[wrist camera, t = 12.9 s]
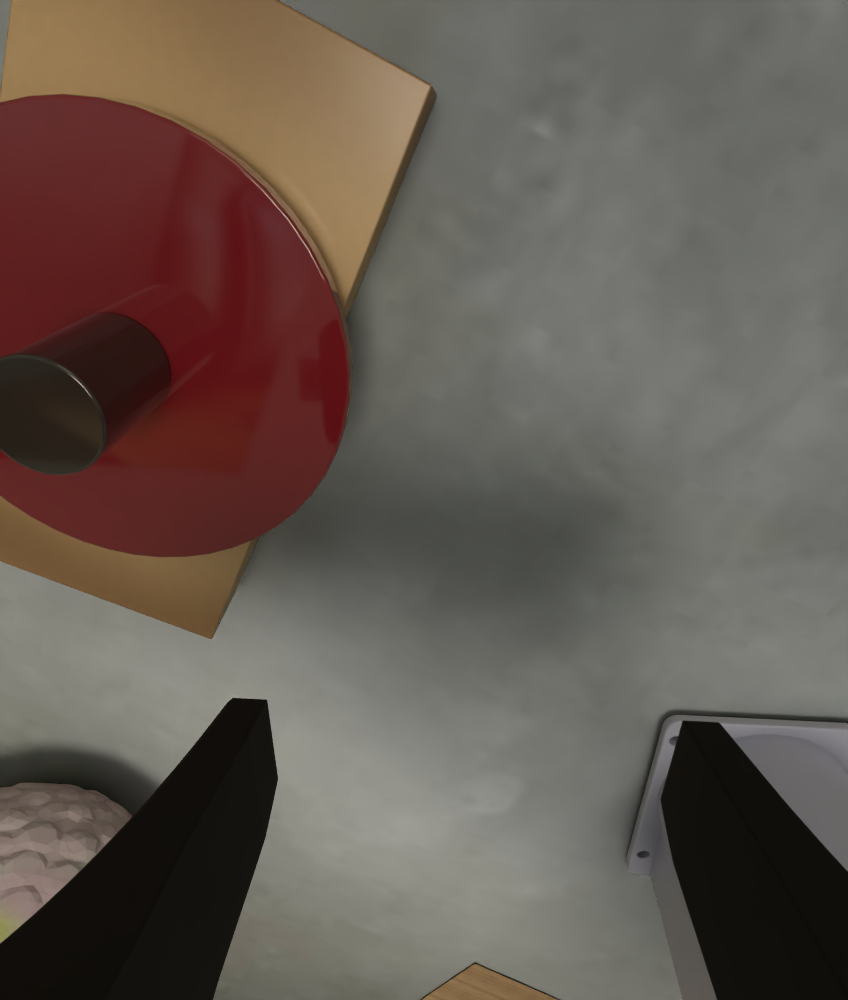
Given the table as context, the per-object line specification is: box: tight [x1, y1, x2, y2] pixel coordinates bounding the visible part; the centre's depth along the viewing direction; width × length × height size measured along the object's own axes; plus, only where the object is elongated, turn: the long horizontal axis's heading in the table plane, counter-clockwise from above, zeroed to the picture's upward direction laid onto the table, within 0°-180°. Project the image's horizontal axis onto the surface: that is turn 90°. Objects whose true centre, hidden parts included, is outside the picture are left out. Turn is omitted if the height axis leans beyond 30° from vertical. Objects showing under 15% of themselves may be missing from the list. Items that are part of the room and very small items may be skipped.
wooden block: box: [0, 0, 437, 639], centre depth 17 cm, size 16×8×3 cm, turn 155°
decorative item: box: [0, 783, 132, 943], centre depth 27 cm, size 9×11×10 cm
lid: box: [0, 94, 353, 557], centre depth 14 cm, size 10×10×4 cm
